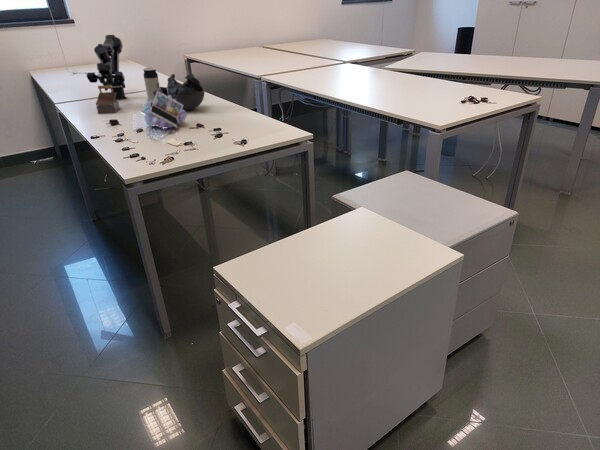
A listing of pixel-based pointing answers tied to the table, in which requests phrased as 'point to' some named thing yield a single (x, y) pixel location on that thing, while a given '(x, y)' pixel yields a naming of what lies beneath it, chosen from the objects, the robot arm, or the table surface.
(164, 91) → the speaker
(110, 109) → the key box
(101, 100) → the lid
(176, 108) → the crystal picture frame
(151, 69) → the travel mug
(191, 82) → the bowl of black rocks
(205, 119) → the table surface
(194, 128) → the table surface
